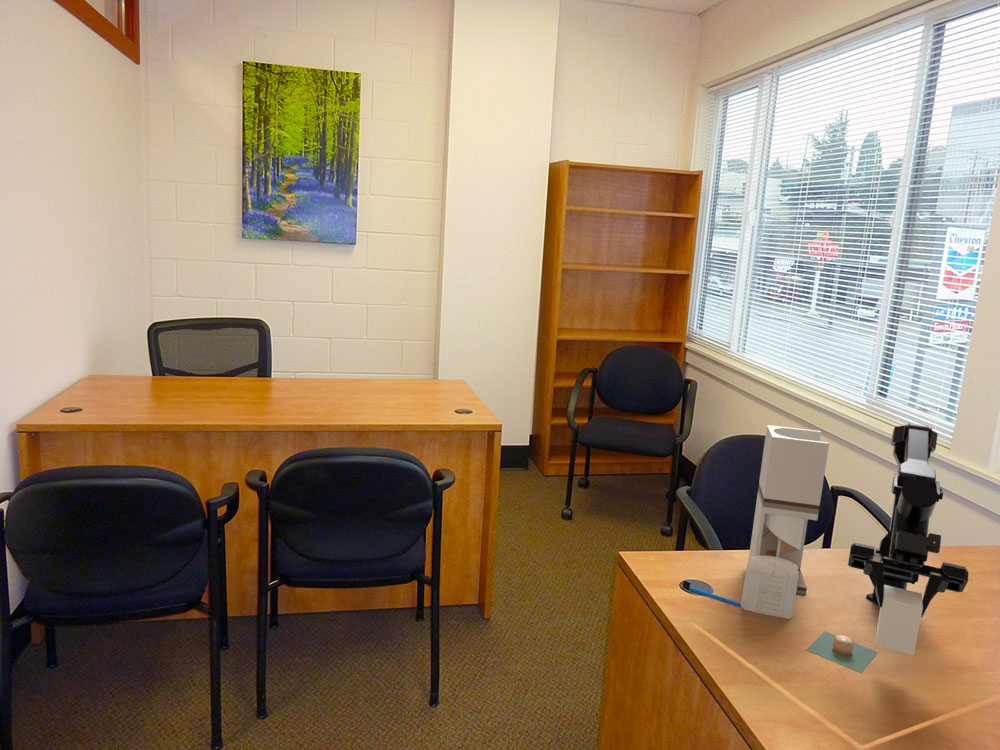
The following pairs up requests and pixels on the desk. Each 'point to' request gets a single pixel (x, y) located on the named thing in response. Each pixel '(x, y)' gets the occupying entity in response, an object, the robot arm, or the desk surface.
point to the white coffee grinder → (788, 493)
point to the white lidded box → (899, 619)
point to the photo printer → (770, 586)
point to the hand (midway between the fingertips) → (900, 611)
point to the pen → (713, 596)
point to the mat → (855, 661)
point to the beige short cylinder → (843, 645)
